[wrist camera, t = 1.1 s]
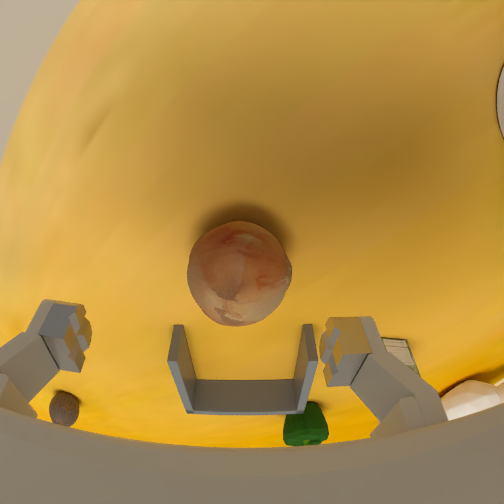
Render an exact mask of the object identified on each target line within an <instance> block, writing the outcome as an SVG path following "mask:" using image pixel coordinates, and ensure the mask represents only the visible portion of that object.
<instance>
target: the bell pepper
mask: <svg viewBox="0 0 504 504" xmlns="http://www.w3.org/2000/svg"><path fill="white" fill-rule="evenodd" d="M328 435H329V431H328V425H327V422H326V420H325V417H324V415H323V413H322V411H321V409H320V408H319V406H318V405H317V404H315V403H306V406H305V409H304V413H300V414H286V418H285V423H284V429H283V440H284V442H285V444H286V445H289V446H293V447H294V446H308V445H319V444H320V443H321V442H322V441H324V440H327V438H328Z"/></svg>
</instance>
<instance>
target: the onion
mask: <svg viewBox="0 0 504 504" xmlns="http://www.w3.org/2000/svg"><path fill="white" fill-rule="evenodd" d="M291 275H292V266H291V263H290V261H289V259H288V257H287V255H286V252H285V250H284V249H283V247H282V245H281V243H280V242H279V240H278V239H277V238H276V237H275V236H274V235H273V234H272V233H270V232H269V231H267V230H266V229H264V228H263V227H261V226H259V225H257V224H254V223H251V222H246V221H232V222H228V223H225V224H223V225H220V226H218V227H216V228H214V229H212V230H210V231H209V232H207V233H206V234H204V235H203V236H202V237H201V238H200V239H199V240H198V241H197V242H196V243H195V245H194V246H193V248H192V251H191V254H190V257H189V264H188V270H187V280H188V285H189V288H190V291H191V294H192V296H193V298H194V299H195V301H196V303H197V304H198V305H199V307H200V308H201V309H202V311H203V312H204V313H205V314H206V315H207V316H208V317H209V318H210V319H212V320H213V321H215V322H216V323H218V324H221V325H227V326H245V325H250V324H254V323H256V322H259V321H261V320H263V319H264V318H266V317H267V316H268V315H270V314H271V313H272V312H273V311H274V310H275V309H276V308H277V307H278V306H279V304H280V303H281V301H282V299H283V297H284V295H285V292H286V290H287V289H288V287H289V285H290V282H291Z"/></svg>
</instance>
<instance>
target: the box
mask: <svg viewBox="0 0 504 504" xmlns="http://www.w3.org/2000/svg"><path fill="white" fill-rule="evenodd" d="M167 362H168V364H169V367H170V370H171V373H172V376H173V378H174V381H175V384H176V386H177V389H178V392H179V394H180V397H181V399H182V402H183V405H184V407H185V410H186V412H187V413H188V414H208V415H280V414H300V413H304V409H305V406H306V403H307V399H308V396H309V392H310V389H311V385H312V382H313V378H314V375H315V371H316V367H317V363H318V356H317V350H316V344H315V339H314V333H313V327H312V324H307V325H303V329H302V335H301V341H300V346H299V352H298V358H297V363H296V369H295V374H294V379H287V380H197V379H196V375H195V372H194V368H193V364H192V360H191V356H190V352H189V348H188V344H187V340H186V336H185V331H184V327H183V325H174V329H173V334H172V339H171V344H170V349H169V354H168V360H167Z"/></svg>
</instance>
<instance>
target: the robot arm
mask: <svg viewBox="0 0 504 504" xmlns="http://www.w3.org/2000/svg"><path fill="white" fill-rule="evenodd" d="M497 111H498V119H499V124H500V128H501V131H502V134H503V137H504V67H503V70H502V73H501V76H500V80H499V85H498V93H497ZM85 314H86V311H85V308H84V305H82V304H76V303H70V302H63V301H55V300H48V299H45V300H43V301H42V302H41V304H40V306H39V308H38V309H37V311H36V313H35V315H34V317H33V319H32V321H31V322H30V324H29V326H28V328H27V330H26V332H21V333H20V334H19V335H17V336H16V337H14V338H13V339H12V340H10V341H9V342H8V343H6V344H5V345H3V346H2V347H1V348H0V504H504V403H501V404H499V405H496V406H493V407H490V408H487V409H484V410H482V411H479V412H476V413H472V414H469V415H466V416H463V417H460V418H456V419H453V420H449V421H448V418H447V415H446V413H445V410H444V407H443V405H442V402H441V400H440V397H439V395H438V392H437V391H436V390H435V389H434V388H433V387H432V386H430V385H429V384H428V383H427V382H426V381H424V380H423V379H422V378H421V377H420V376H418V375H417V374H416V373H415V372H414V371H412V370H411V369H410V368H409V367H408V366H406V365H405V364H404V363H403V362H402V361H400V360H399V359H398V358H397V357H396V356H394V355H393V354H392V353H391V352H388V353H387V352H386V349H385V347H384V344H383V342H382V339H381V337H380V334H379V332H378V329H377V327H376V324H375V322H374V320H373V318H372V317H371V316H366V317H329V318H328V320H327V322H326V325H325V326H326V330H327V331H325V332H324V333H323V334H322V336H321V339H320V345H319V352H320V358H321V361H322V362H323V363H324V364H326V366H325V368H324V370H323V372H324V376H325V381H326V385H327V387H334V386H350V388H351V389H352V390H353V391H354V392H355V393H356V395H357V396H358V397H359V398H360V399H361V400H362V401H363V402H364V404H365V405H366V406H367V407H368V408H369V409H370V410H371V412H372V413H373V414H374V415H375V416H376V417H377V418H378V419H379V421H380V423H379V425H378V426H377V427H376V428H375V429H374V430H373V431H372V432H371V434H370V436H371V438H367V439H361V440H354V441H346V442H338V443H329V444H319V445H308V446H294V447H272V448H220V447H199V446H185V445H173V444H163V443H155V442H147V441H139V440H132V439H126V438H120V437H114V436H108V435H103V434H98V433H93V432H88V431H83V430H79V429H75V428H70V427H66V426H62V425H58V424H55V423H51V422H47V421H44V420H40V419H37V413H36V411H35V410H34V409H33V408H32V406H31V405H30V404H29V402H30V401H31V400H32V399H33V398H34V397H35V395H36V394H37V393H38V392H39V391H40V390H41V389H42V388H43V387H44V386H45V385H46V384H47V383H48V382H49V381H50V380H51V379H52V378H53V377H54V376H55V375H56V374H57V373H58V372H59V371H60V370H65V371H71V372H78V373H80V372H81V369H82V366H83V363H84V360H85V355H84V353H83V352H84V351H85V350H86V349H88V348H89V345H90V342H91V336H92V330H91V325H90V322H89V321H88V320H87V319H86V318H85V317H84V316H85Z"/></svg>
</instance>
